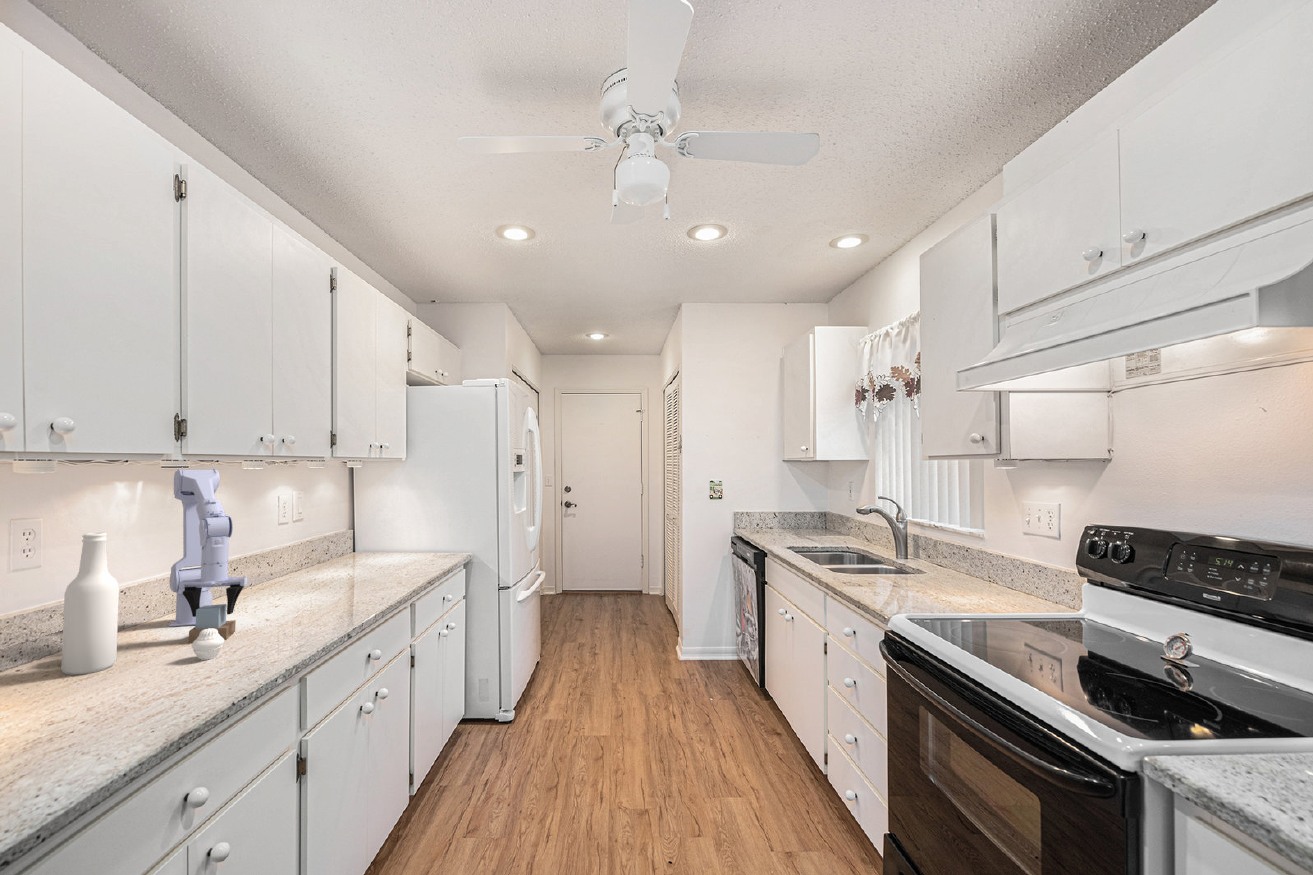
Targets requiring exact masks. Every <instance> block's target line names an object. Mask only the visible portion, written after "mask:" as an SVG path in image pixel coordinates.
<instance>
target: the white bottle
mask: <svg viewBox="0 0 1313 875" xmlns="http://www.w3.org/2000/svg"><path fill="white" fill-rule="evenodd" d="M107 535H108V533H106V532H89V533H84V534H83V535H81V536H82V537H83V538H82V541H81V542H82V548H81V554H80V562H79V569H78V572H77V575H76V576H75V578H74V579H73V580H71V581H70V583H69V584H68V585H67V587H66V589H65V592H64V600H63V602H64V605H63V623H62V624H63V625H62V626H63V627H62V644H61V645H62V646H61V648H62V649H61V666H60V667H61V669H60V670H61V672H63V674H64V675H66V676H81V675H82V674H83V675H88V674H87V673H89V674H94V673H97V672H102V671H105V670H107V669H110V668H112V667H113V666H114V665H115V663H116V662H117V653H118V652H117V649H118V648H117V647H118V625H119V624H118V623H119V598H120V587H119V582H118V580H117V578H115V577H114V576H113V575H111V573H110V572H109V569H108V555H107V541H108V538H107Z"/></svg>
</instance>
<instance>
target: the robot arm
mask: <svg viewBox="0 0 1313 875" xmlns="http://www.w3.org/2000/svg"><path fill="white" fill-rule="evenodd" d="M220 477H221V476H220V472H219V471H218V470H217V469H216V468H213V469H180V468H179V469H177V470H176V471H174V475H173V495H174V499H176V500H179V501H181V504H182V512H183V513H182V514H183V515H182V516H183V518H182V519H183V522H182V527H183V529H182V532H183V533H182V536H183V538H182V539H183V540H182V542H183V544H182V546H183V547H182V548H183V551H182V552H183V556H182V558H181V559H179V560H177V561H176V562H174V563H173V564H172V566H171V568H170V574H169V589H170V590H171V592H172V593H176V600H175V621H174V622H171V623H170V624H168V627H181V626H182V627H183V626H196V610H197V609H199V608H200V607H202V606H204V605H213V594H212V592H211V588H218V587H219V588H220V587H227V588H225V591H226V592H225V593H226V599H227V600H226V601H227V602H226V604H227V606H226V616H227V615H232V614H233V613H234V611H235V610H234V609H235V606H236V603H237V601H238V598H239V596H240V594H241V592H242V590H243V589H244V587H245V586H246V585H248V576H246V577H245V576H244V577H234V576H233V577H231V576H230V577H229V576H228V575H229V572H228V570H229V547H230V546H229V545H230V544H229V543H230V542H229V541H230V539H229V538H231V537H232V535H233V528H234V527H233V525H234V524H233V519H232V516H230V515H229V514H226V513H225V510H224V507H223V503H222V502H221V501H220V500H218V499H217V498H216V496H215V494H216V491H217V489H218V488H219V487H220V479H221V478H220ZM182 568H183V569H182Z"/></svg>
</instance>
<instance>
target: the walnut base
mask: <svg viewBox="0 0 1313 875" xmlns="http://www.w3.org/2000/svg"><path fill="white" fill-rule="evenodd" d="M236 620H237V619H236ZM236 620H235V619H234V620H232V619H231V620H226V623H225V624H223V625H222V626H220V627H219V628H214V629H217V630H218V634H220V636H221V637H222V638H224V641H227V640H229V638H230V637H231V636H232V635H234V632H235V633H236ZM203 630H205V629H196V625H194V627H192V628H191V629H190V630H189V631H188V644H192V643H193V642H194V641H195V640H196V639H197V638H198V636H199V634H200V632H201V631H203Z"/></svg>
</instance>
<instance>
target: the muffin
mask: <svg viewBox="0 0 1313 875" xmlns="http://www.w3.org/2000/svg"><path fill="white" fill-rule="evenodd" d="M224 643H225V640H224V638H222V637H221V636H220V634H218V630H217V629H214V628H208V629H205V630H203V631H201V632H200V634H199V636H198V638H197V639H196V640H195V641H194V642H193V643H191V648H192V651H193V652H194V654H195V655H196V657H197V658H198V660H199V659H201V660H200V661H208V659H209V660H213V659H215V658H217V657H218V655H219V653H220V652H221V649H222V648H223V647H224V646H223V645H224Z"/></svg>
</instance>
